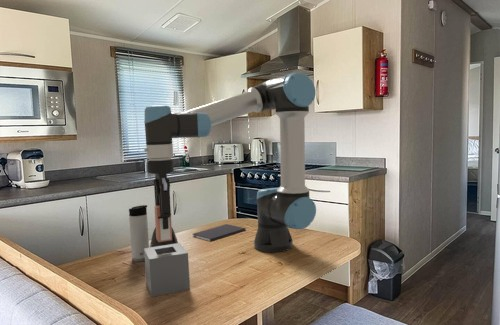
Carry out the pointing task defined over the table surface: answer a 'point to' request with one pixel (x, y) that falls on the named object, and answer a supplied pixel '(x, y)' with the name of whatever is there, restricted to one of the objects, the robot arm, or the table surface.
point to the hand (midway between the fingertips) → (164, 237)
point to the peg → (157, 223)
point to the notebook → (218, 232)
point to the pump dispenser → (155, 243)
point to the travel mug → (138, 232)
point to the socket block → (166, 269)
